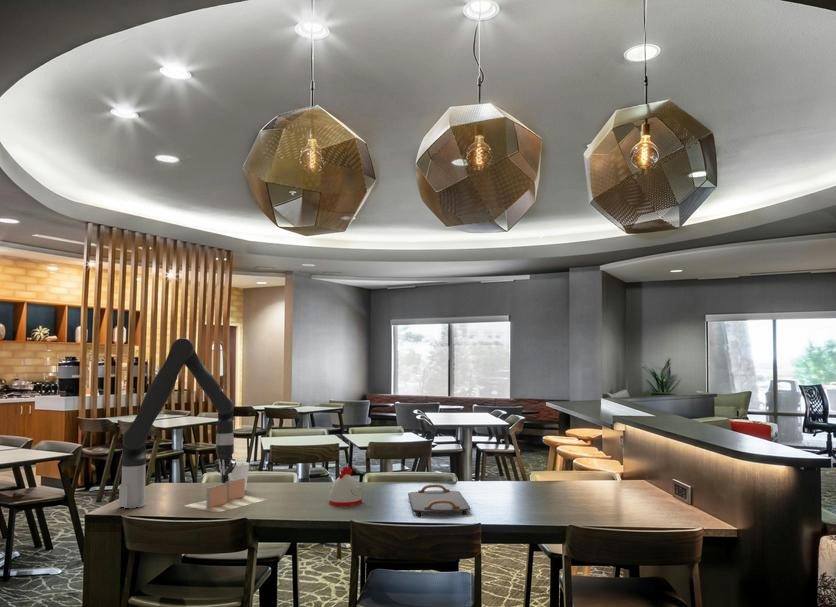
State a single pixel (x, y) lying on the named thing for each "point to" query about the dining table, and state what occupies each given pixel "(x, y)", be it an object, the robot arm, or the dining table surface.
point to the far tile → (235, 489)
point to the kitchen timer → (345, 490)
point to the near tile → (216, 495)
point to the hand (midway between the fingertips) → (224, 483)
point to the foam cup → (240, 471)
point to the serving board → (437, 501)
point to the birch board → (230, 504)
